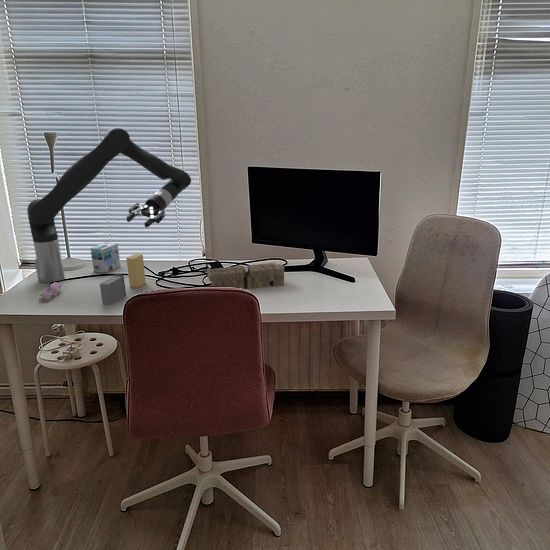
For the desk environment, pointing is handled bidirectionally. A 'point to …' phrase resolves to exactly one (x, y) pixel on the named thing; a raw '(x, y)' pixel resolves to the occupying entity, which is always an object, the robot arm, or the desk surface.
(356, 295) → the desk surface
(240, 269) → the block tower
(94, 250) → the light bulb box
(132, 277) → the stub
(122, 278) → the blue-grey block
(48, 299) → the rabbit figure
